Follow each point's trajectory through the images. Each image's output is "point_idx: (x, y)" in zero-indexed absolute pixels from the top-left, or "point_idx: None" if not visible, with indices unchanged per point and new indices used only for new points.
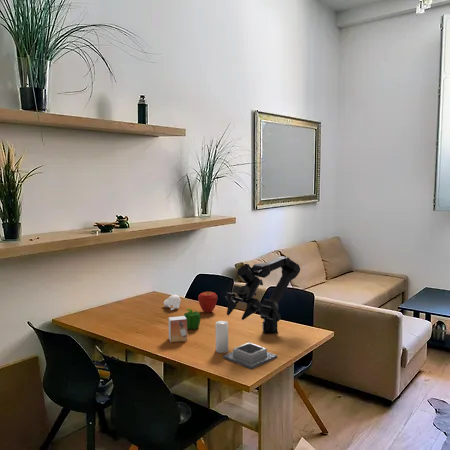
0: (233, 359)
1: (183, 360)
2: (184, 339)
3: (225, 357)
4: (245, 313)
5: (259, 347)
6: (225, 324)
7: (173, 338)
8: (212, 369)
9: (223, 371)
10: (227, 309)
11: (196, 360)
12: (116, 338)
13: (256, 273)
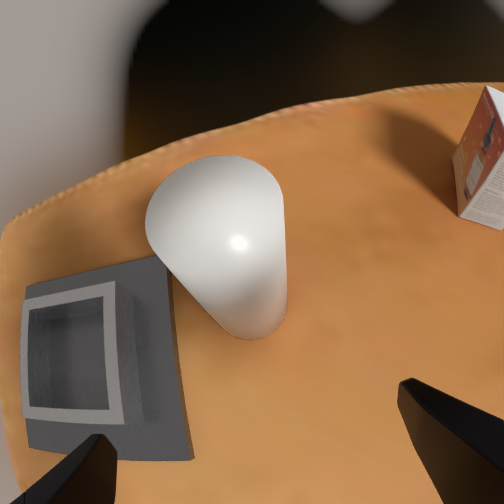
0: (102, 269)
1: (255, 128)
2: (460, 201)
3: (150, 259)
4: (39, 480)
5: (50, 408)
6: (146, 214)
7: (458, 155)
8: (122, 179)
9: (86, 203)
10: (469, 405)
11: None
12: (497, 87)
13: None
